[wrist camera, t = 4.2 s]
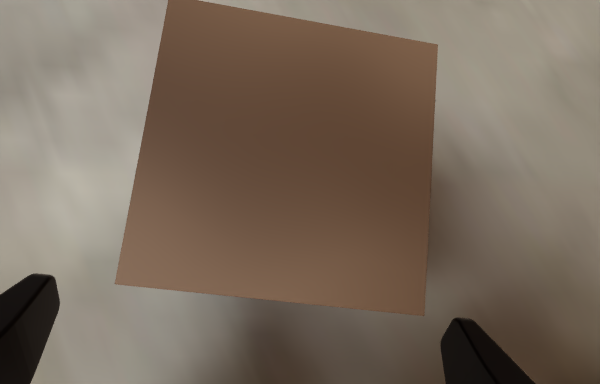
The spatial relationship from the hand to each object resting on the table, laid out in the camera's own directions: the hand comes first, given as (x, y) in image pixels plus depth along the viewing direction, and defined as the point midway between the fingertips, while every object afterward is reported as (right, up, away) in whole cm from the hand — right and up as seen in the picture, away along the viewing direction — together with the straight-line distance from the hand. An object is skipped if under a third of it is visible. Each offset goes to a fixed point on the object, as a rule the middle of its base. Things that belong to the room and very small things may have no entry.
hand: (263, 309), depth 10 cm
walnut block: (-1, +1, +10) cm, 10 cm away
